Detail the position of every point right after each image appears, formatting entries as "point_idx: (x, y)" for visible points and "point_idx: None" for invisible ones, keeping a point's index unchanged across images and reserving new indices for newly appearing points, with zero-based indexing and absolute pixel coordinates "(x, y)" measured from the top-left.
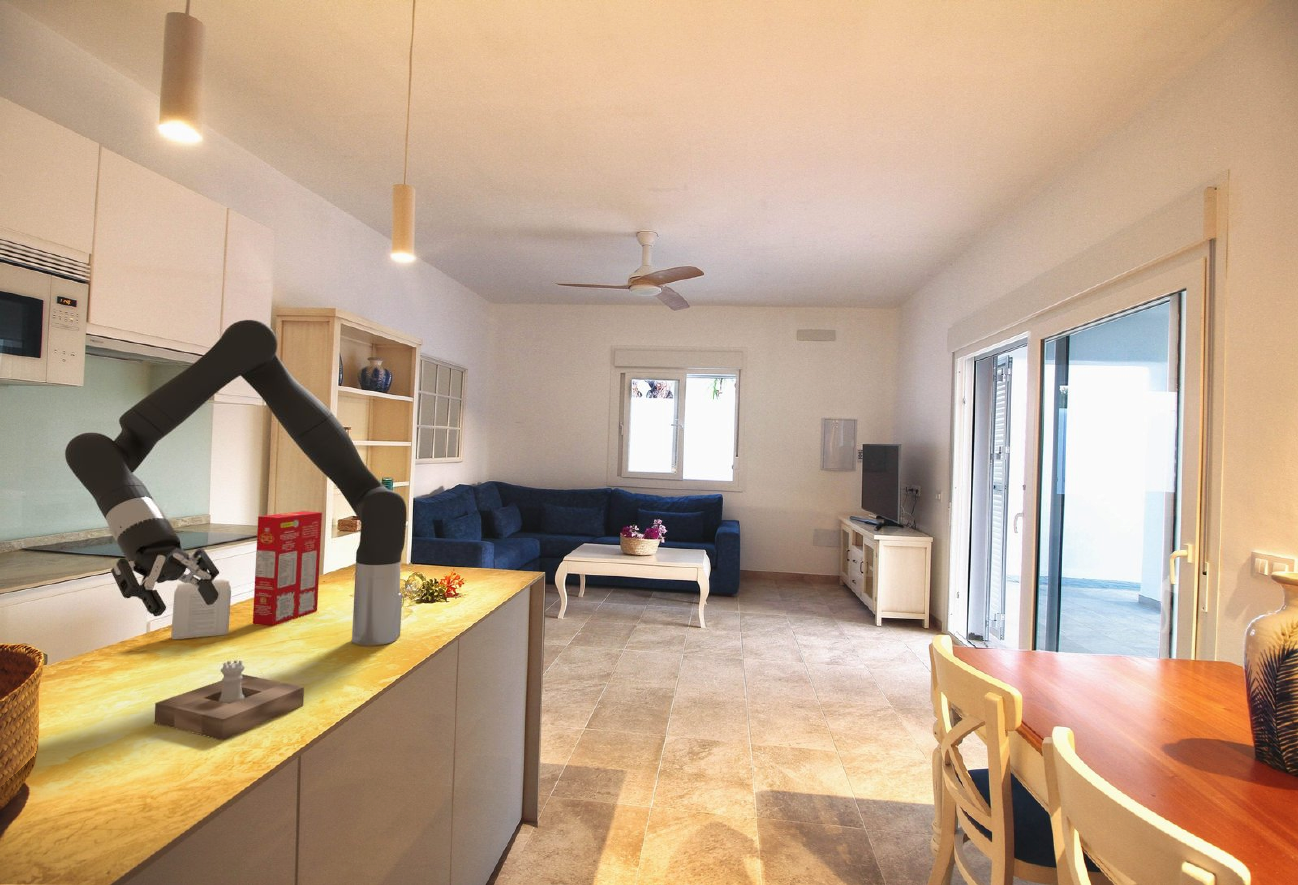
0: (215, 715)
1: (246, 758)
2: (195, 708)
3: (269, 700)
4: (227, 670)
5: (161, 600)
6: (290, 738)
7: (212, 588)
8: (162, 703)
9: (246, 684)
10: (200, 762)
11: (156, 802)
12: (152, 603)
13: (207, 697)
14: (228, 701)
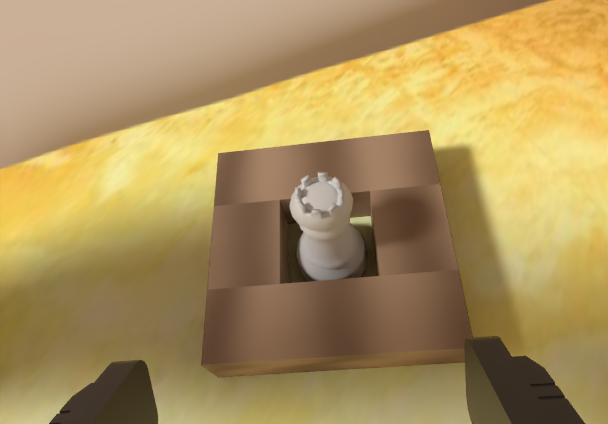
0: (427, 157)
1: (441, 76)
2: (430, 225)
3: (311, 145)
4: (345, 188)
5: (490, 366)
6: (353, 84)
7: (83, 403)
8: (463, 327)
9: (260, 271)
10: (497, 114)
11: (601, 55)
12: (549, 380)
13: (365, 279)
14: (349, 224)
